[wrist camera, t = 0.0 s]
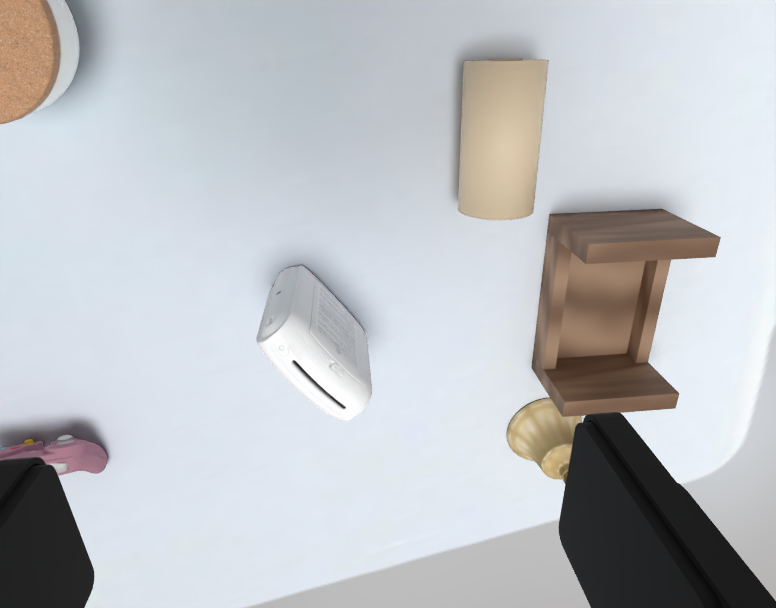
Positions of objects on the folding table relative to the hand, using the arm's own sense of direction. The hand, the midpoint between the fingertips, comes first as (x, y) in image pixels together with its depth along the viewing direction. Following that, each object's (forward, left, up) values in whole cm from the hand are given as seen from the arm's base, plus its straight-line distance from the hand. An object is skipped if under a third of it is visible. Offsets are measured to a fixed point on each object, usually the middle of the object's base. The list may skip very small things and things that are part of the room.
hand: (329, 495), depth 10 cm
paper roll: (-1, +13, -37) cm, 39 cm away
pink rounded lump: (+27, -29, -37) cm, 54 cm away
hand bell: (+30, +21, -37) cm, 52 cm away
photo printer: (+14, -2, -37) cm, 40 cm away
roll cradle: (+14, +24, -37) cm, 46 cm away
